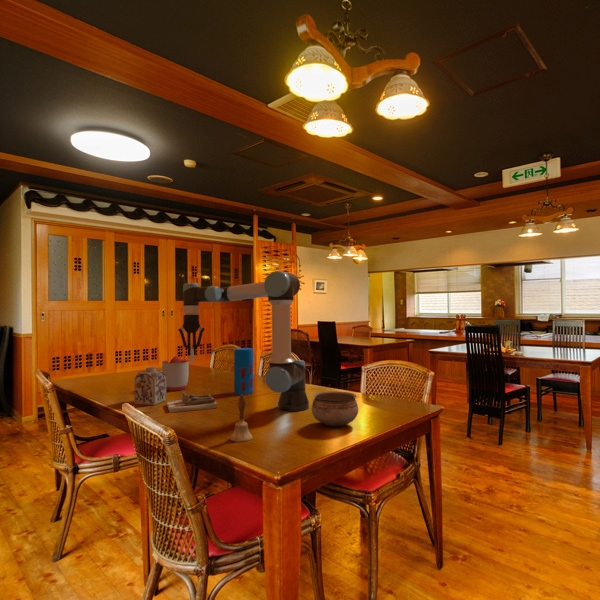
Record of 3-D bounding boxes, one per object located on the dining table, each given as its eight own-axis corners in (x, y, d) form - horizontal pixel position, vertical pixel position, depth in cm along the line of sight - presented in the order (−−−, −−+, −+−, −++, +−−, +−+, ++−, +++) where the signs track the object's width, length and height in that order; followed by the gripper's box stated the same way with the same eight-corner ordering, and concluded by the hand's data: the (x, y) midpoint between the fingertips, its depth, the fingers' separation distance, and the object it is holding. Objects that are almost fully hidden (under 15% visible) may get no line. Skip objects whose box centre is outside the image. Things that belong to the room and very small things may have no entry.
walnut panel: (214, 402, 194) (214, 393, 194) (185, 405, 188) (185, 395, 188) (210, 397, 205) (210, 388, 205) (182, 400, 199) (182, 391, 199)
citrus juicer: (181, 385, 251) (181, 353, 251) (193, 389, 238) (193, 355, 238) (156, 388, 241) (156, 355, 241) (167, 393, 227) (167, 358, 228)
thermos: (257, 392, 229) (257, 348, 229) (245, 395, 220) (245, 350, 220) (242, 390, 235) (242, 347, 235) (230, 393, 225) (230, 349, 226)
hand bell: (253, 434, 151) (253, 392, 151) (251, 441, 143) (251, 397, 143) (231, 434, 151) (231, 392, 151) (228, 442, 142) (228, 397, 143)
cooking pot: (337, 438, 146) (336, 404, 147) (297, 428, 158) (297, 397, 159) (370, 423, 166) (370, 393, 166) (333, 415, 178) (333, 388, 178)
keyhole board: (217, 408, 192) (217, 397, 192) (169, 412, 184) (169, 401, 184) (211, 401, 207) (211, 391, 207) (166, 405, 198) (166, 394, 198)
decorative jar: (154, 405, 198) (154, 369, 198) (133, 404, 200) (133, 368, 200) (167, 400, 209) (167, 366, 210) (147, 399, 212) (147, 365, 212)
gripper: (202, 314, 205) (203, 360, 204) (176, 314, 199) (177, 361, 199) (205, 313, 198) (206, 361, 197) (178, 314, 192) (179, 363, 192)
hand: (191, 361), depth 198 cm, fingers closed
